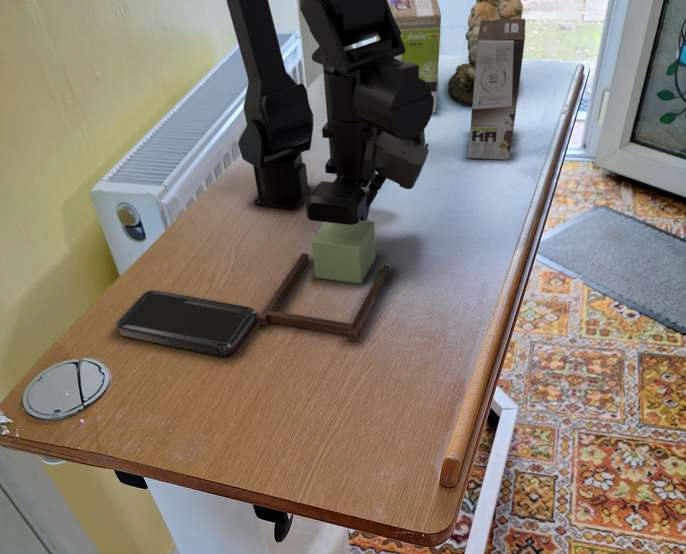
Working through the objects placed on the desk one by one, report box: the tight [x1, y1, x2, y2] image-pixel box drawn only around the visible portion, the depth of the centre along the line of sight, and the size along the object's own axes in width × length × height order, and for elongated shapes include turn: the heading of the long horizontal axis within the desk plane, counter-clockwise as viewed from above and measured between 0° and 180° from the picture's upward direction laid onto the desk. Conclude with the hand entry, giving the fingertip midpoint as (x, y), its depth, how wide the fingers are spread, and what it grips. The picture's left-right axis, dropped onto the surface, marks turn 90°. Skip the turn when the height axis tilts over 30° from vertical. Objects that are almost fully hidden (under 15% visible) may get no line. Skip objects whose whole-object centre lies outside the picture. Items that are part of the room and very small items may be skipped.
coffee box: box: [467, 18, 526, 160], centre depth 98 cm, size 9×6×16 cm
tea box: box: [376, 0, 442, 114], centre depth 113 cm, size 15×10×15 cm
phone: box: [116, 289, 258, 357], centre depth 78 cm, size 8×1×15 cm
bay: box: [258, 252, 391, 342], centre depth 80 cm, size 12×14×1 cm
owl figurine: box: [447, 0, 524, 107], centre depth 113 cm, size 18×12×17 cm, turn 170°
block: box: [311, 220, 377, 285], centre depth 82 cm, size 6×6×5 cm
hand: (359, 238), depth 87 cm, fingers closed
